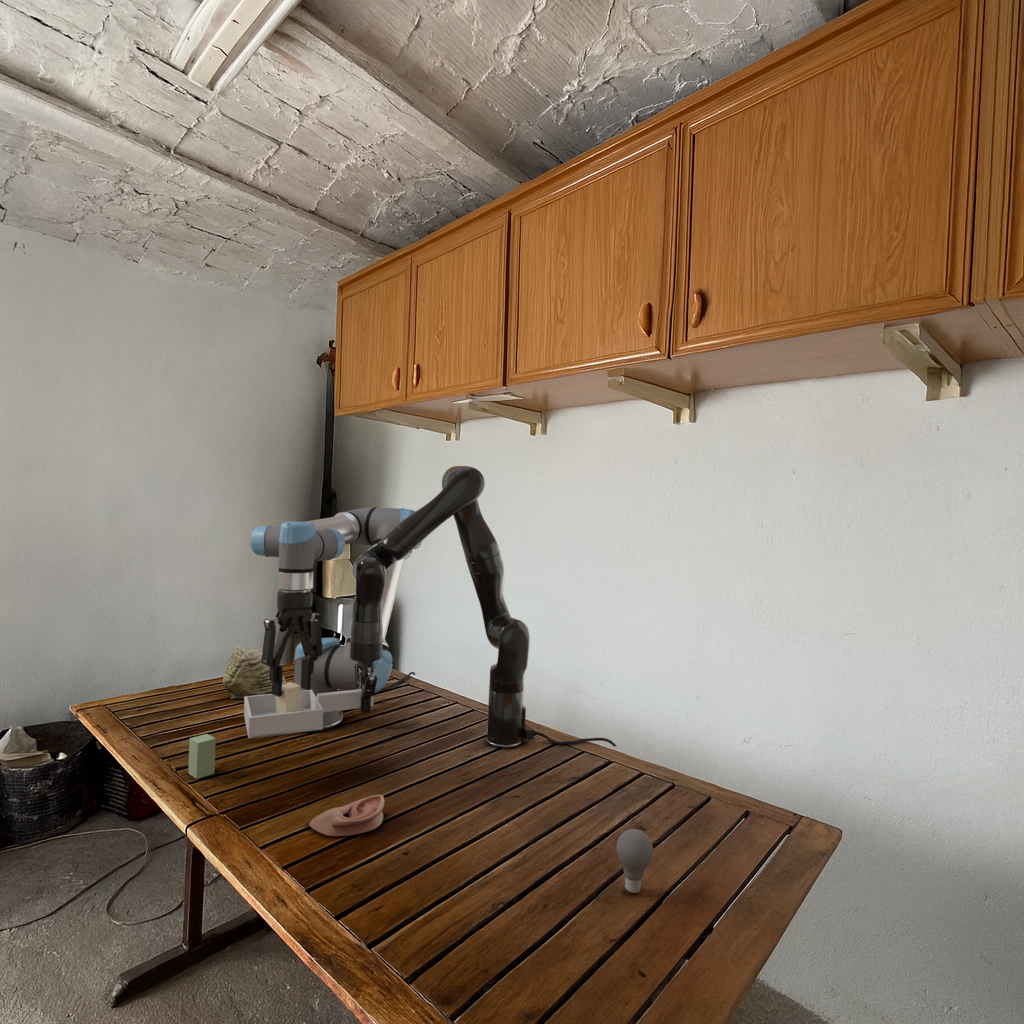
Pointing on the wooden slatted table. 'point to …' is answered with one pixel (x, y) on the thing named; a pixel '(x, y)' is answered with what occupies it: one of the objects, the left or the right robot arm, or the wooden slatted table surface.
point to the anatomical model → (351, 817)
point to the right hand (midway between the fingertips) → (364, 710)
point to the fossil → (247, 674)
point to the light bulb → (634, 857)
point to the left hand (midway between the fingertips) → (291, 691)
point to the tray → (269, 723)
